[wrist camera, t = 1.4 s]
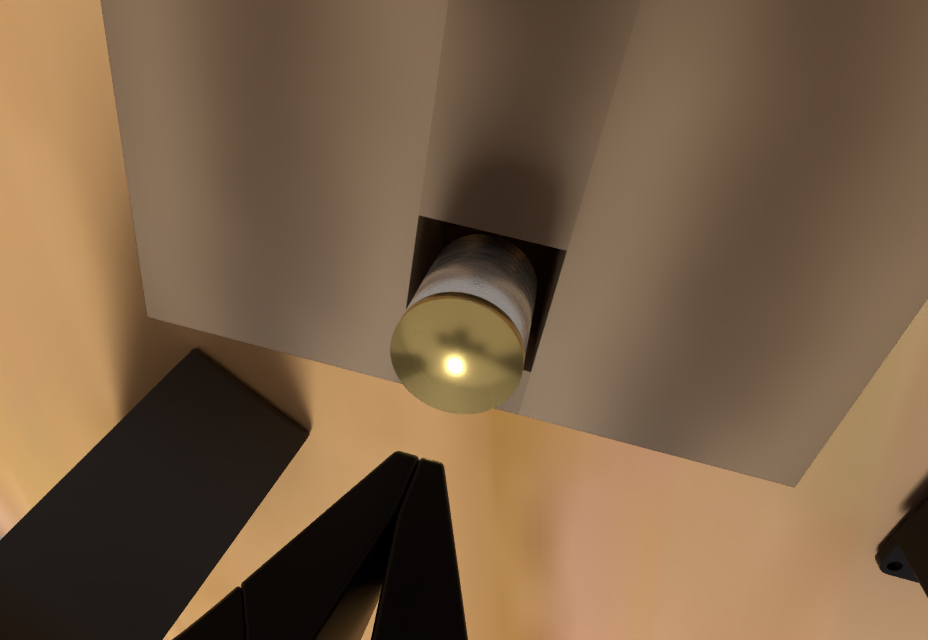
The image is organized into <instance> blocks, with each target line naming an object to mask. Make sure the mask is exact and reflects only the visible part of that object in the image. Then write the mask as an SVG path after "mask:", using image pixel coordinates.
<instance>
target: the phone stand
mask: <svg viewBox="0 0 928 640" xmlns="http://www.w3.org/2000/svg"><path fill="white" fill-rule="evenodd" d="M308 436H309V433H307V432H306V431H305V430H303V429H302V428H301V427H299V426H298V425H297V424H295V423H294V422H293V421H291V420H290V419H289V418H287V417H286V416H285V415H283V414H282V413H281V412H279V411H278V410H277V409H275V408H274V407H273V406H271V405H270V404H269V403H267V402H266V401H264V400H263V399H262V398H260V397H259V396H258V395H256V394H255V393H254V392H252V391H251V390H250V389H248V388H247V387H246V386H244V385H243V384H242V383H240V382H239V381H238V380H236V379H235V378H234V377H232V376H231V375H230V374H228V373H227V372H226V371H224V370H223V369H222V368H220V367H219V366H218V365H216V364H215V363H214V362H212V361H211V360H210V359H208V358H207V357H206V356H204V355H203V354H202V353H200V352H199V351H198V350H196V349H195V348H194V349H193V350H192V351H191V352H190V353H189V354H188V355H186V356H185V357H184V358H183V359H182V360H181V361H180V362H179V363H178V364H177V365H176V366H175V367H174V368H173V369H172V370H171V371H170V372H169V373H168V374H167V375H166V376H165V377H164V378H163V379H162V380H161V381H160V382H159V383H158V384H157V385H156V386H155V387H154V388H153V389H152V390H151V391H150V392H149V393H148V394H147V395H146V396H145V397H144V398H143V399H142V400H141V401H140V402H139V403H138V404H137V405H136V406H135V407H134V408H133V409H132V410H131V411H130V412H129V413H128V414H127V415H126V416H125V417H124V418H123V419H122V420H121V421H120V422H119V423H118V424H117V425H116V426H115V427H114V428H113V429H112V430H111V431H110V432H109V433H108V434H107V435H106V436H105V437H104V438H103V439H102V440H101V441H100V442H99V443H98V444H97V445H96V446H95V447H94V448H93V449H92V450H91V451H90V452H89V453H88V454H87V455H86V456H85V457H84V458H83V459H82V460H81V461H80V462H79V463H78V464H77V465H76V466H75V467H74V468H73V469H72V470H71V471H70V472H69V473H67V474H66V475H65V476H64V477H63V478H62V479H61V480H60V481H59V482H58V483H57V484H56V485H55V486H54V487H53V488H52V489H51V490H50V491H49V492H48V493H47V494H46V495H45V496H44V497H43V498H42V499H41V500H40V501H39V502H38V503H37V504H36V505H35V506H34V507H33V508H32V509H31V510H30V511H29V512H28V513H27V514H26V515H25V516H24V517H23V518H22V519H21V520H20V521H19V522H18V523H17V524H16V525H15V526H14V527H13V528H12V529H11V530H10V531H9V532H8V533H7V534H6V535H5V536H4V537H3V538H2V539H1V540H0V640H163V638H164V637H165V635H166V634H167V633H168V631H169V630H170V628H171V627H172V626H173V624H174V623H175V622H176V620H177V619H178V617H179V616H180V615H181V613H182V612H183V610H184V609H185V608H186V606H187V605H188V603H189V602H190V601H191V599H192V598H193V596H194V595H195V594H196V592H197V591H198V590H199V588H200V587H201V585H202V584H203V583H204V581H205V580H206V578H207V577H208V576H209V574H210V573H211V571H212V570H213V569H214V567H215V566H216V565H217V563H218V562H219V560H220V559H221V558H222V556H223V555H224V553H225V552H226V551H227V549H228V548H229V546H230V545H231V544H232V542H233V541H234V540H235V538H236V537H237V535H238V534H239V533H240V531H241V530H242V528H243V527H244V526H245V524H246V523H247V521H248V520H249V519H250V517H251V516H252V514H253V513H254V512H255V510H256V509H257V508H258V506H259V505H260V503H261V502H262V501H263V499H264V498H265V496H266V495H267V494H268V492H269V491H270V489H271V488H272V487H273V485H274V484H275V483H276V481H277V480H278V478H279V477H280V476H281V474H282V473H283V471H284V470H285V469H286V467H287V466H288V464H289V463H290V462H291V460H292V459H293V457H294V456H295V455H296V453H297V452H298V451H299V449H300V448H301V446H302V445H303V444H304V442H305V441H306V439H307V438H308Z"/></svg>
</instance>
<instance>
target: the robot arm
mask: <svg viewBox="0 0 928 640" xmlns="http://www.w3.org/2000/svg"><path fill="white" fill-rule="evenodd" d="M875 560H876V562H877V564H878V566H879V568H880V570H881V571H882V572H883V573H886V574H888V575H892V576H896V577H899V578H903V579H907V580H910V581H914V582H918V583H920V585H921V587H922V588H923V590H924V592H925V594H926V595H927V597H928V497H927V498H926V499H925V500H924V501H923V503H922V504H921V505H920V506H919V507H918V508H917V509H916V510H915V511H914V513H913V514H912V515H911V516H910V517H909V518H908V519H907V520H906V522H905V523H904V524H903V525H902V526H901V527H900V528H899V529H898V530H897V532H896V533H895V534H894V535H893V536H892V537H891V538H890V539H889V540H888V542H887V543H886V544H885V545H884V546H883V547H882V548H881V549H880V551H879V552H878V553H877V554H876V556H875ZM379 597H380V598H379ZM378 600H379V603H378V608H377V613H376V617H375V622H374V627H373V632H372V637H371V640H468V636H467V629H466V622H465V614H464V607H463V600H462V593H461V585H460V578H459V571H458V564H457V556H456V549H455V542H454V534H453V527H452V520H451V513H450V505H449V498H448V491H447V484H446V476H445V469H444V465H443V464H442V463H441V462H437V461H434V460H430V459H426V458H421V459H420V460H419V458H418V457H417V456H415V455H412V454H408V453H404V452H401V451H397V452H394V453H393V454H392V455H390V456H389V457H388V458H387V459H386V460H385V461H383V462H382V463H381V464H380V465H379V466H378V467H376V468H375V469H374V470H373V471H372V472H371V473H369V474H368V475H367V476H366V477H365V478H364V479H362V480H361V481H360V482H359V483H358V484H357V485H355V486H354V487H353V488H352V489H351V490H350V491H348V492H347V493H346V494H345V495H344V496H343V497H341V498H340V499H339V500H338V501H337V502H336V503H334V504H333V505H332V506H331V507H330V508H329V509H327V510H326V511H325V512H324V513H323V514H322V515H320V516H319V517H318V518H317V519H316V520H315V521H313V522H312V523H311V524H310V525H309V526H308V527H306V528H305V529H304V530H303V531H302V532H301V533H299V534H298V535H297V536H296V537H295V538H294V539H292V540H291V541H290V542H289V543H288V544H287V545H285V546H284V547H283V548H282V549H281V550H280V551H278V552H277V553H276V554H275V555H274V556H273V557H271V558H270V559H269V560H268V561H267V562H266V563H264V564H263V565H262V566H261V567H260V568H259V569H257V570H256V571H255V572H254V573H253V574H252V575H250V576H249V577H248V578H247V579H246V580H245V581H243V582H242V584H241V587H236V588H235V589H234V590H233V591H231V592H230V593H229V594H228V595H227V596H226V597H224V598H223V599H222V600H221V601H220V602H219V603H217V604H216V605H215V606H214V607H213V608H211V609H210V610H209V611H208V612H206V613H205V614H204V615H203V616H202V617H200V618H199V619H198V620H197V621H195V622H194V623H193V624H192V625H190V626H189V627H188V628H187V629H186V630H184V631H183V632H182V633H180V634H179V635H178V636H176V637H175V638H174V639H172V640H361V638H362V636H363V634H364V631H365V629H366V627H367V625H368V622H369V620H370V618H371V616H372V613H373V611H374V609H375V607H376V604H377V602H378Z"/></svg>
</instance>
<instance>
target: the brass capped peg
mask: <svg viewBox="0 0 928 640" xmlns="http://www.w3.org/2000/svg"><path fill="white" fill-rule="evenodd" d="M536 293H537V279H536V275H535V271H534V269H533V266H532V265H531V263H530V261H529V259H528V258H527V257H526V256H525V254H524V253H523V252H522V251H521V250H520V249H519V248H517V247H516V246H515V245H513V244H512V243H510V242H508V241H507V240H504V239H502V238H499V237H496V236H492V235H487V234H474V235H468V236H464V237H461V238H458V239H456V240H454V241H452V242H451V243H449V244H448V245H447V246H446V247H444V248H443V249H442V250H441V252H440V253H439V254H438V256H437V257H436V259H435V261H434V263H433V264H432V266H431V268H430V269H429V271H428V273H427V275H426V276H425V278H424V280H423V282H422V283H421V285H420V287H419V288H418V290H417V292H416V294H415V295H414V297H413V299H412V300H411V302H410V304H409V306H408V307H407V309H406V311H405V312H404V314H403V316H402V318H401V319H400V321H399V323H398V324H397V326H396V328H395V330H394V332H393V335H392V338H391V343H390V356H391V361H392V365H393V368H394V370H395V373H396V375H397V376H398V378H399V380H400V381H401V382H402V384H403V385H404V386H405V387H406V389H407V390H408V391H409V392H410V393H412V394H413V395H414V396H415V397H416V398H418V399H419V400H421V401H422V402H424V403H426V404H427V405H429V406H431V407H434V408H436V409H439V410H442V411H445V412H450V413H456V414H475V413H481V412H485V411H488V410H491V409H493V408H495V407H497V406H499V405H501V404H502V403H503V402H505V401H506V400H507V399H508V398H509V397H510V396H511V395H512V394H513V393H514V392H515V390H516V388H517V387H518V385H519V383H520V380H521V377H522V372H523V366H524V361H525V355H526V350H527V344H528V338H529V333H530V327H531V322H532V316H533V310H534V305H535V299H536Z"/></svg>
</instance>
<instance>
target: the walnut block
mask: <svg viewBox="0 0 928 640" xmlns="http://www.w3.org/2000/svg"><path fill="white" fill-rule="evenodd" d="M101 7H102V13H103V20H104V27H105V34H106V40H107V47H108V54H109V61H110V68H111V74H112V81H113V88H114V95H115V101H116V108H117V115H118V122H119V128H120V135H121V142H122V149H123V155H124V162H125V169H126V176H127V183H128V189H129V196H130V203H131V210H132V216H133V223H134V230H135V237H136V243H137V250H138V257H139V264H140V270H141V277H142V284H143V291H144V298H145V304H146V311H147V317H150V318H154V319H158V320H161V321H165V322H169V323H173V324H177V325H180V326H184V327H188V328H192V329H196V330H199V331H203V332H207V333H211V334H215V335H218V336H222V337H226V338H230V339H233V340H237V341H241V342H245V343H249V344H252V345H256V346H260V347H264V348H268V349H271V350H275V351H279V352H283V353H287V354H290V355H294V356H298V357H302V358H306V359H309V360H313V361H317V362H321V363H325V364H328V365H332V366H336V367H340V368H343V369H347V370H351V371H355V372H359V373H362V374H366V375H370V376H374V377H378V378H381V379H385V380H389V381H393V382H397V383H400V384H402V382H401V381H400V380H399V378H398V376H397V375H396V373H395V370H394V368H393V365H392V361H391V356H390V343H391V338H392V335H393V332H394V330H395V328H396V326H397V324H398V323H399V321H400V319H401V318H402V316H403V314H404V312H405V311H406V309H407V307H408V306H409V304H410V302H411V300H412V299H413V297H414V295H415V294H416V292H417V290H418V288H419V287H420V285H421V283H422V282H423V280H424V278H425V276H426V275H427V273H428V271H429V269H430V268H431V266H432V264H433V263H434V261H435V259H436V257H437V256H438V254H439V248H440V242H441V236H442V230H443V224H444V221H445V222H449V223H453V224H458V225H462V226H466V227H470V228H474V229H478V230H483V231H487V232H491V233H495V234H499V235H503V236H508V237H512V238H516V239H520V240H524V241H528V242H533V243H537V244H541V245H545V246H549V247H554V248H558V249H557V253H556V256H555V260H554V263H553V267H552V270H551V274H550V277H549V281H548V284H547V288H546V291H545V295H544V298H543V302H542V305H538V304H535V305H534V310H533V316H532V322H531V327H530V333H529V338H528V344H527V350H526V355H525V361H524V366H523V372H522V377H521V380H520V383H519V385H518V387H517V388H516V390H515V392H514V393H513V394H512V395H511V396H510V397H509V398H508V399H507V400H506V401H505V402H503V403H502V404H501V405H499V406H497V407H495V409H499V410H503V411H507V412H510V413H514V414H518V415H522V416H526V417H529V418H533V419H537V420H541V421H544V422H548V423H552V424H556V425H560V426H563V427H567V428H571V429H575V430H579V431H582V432H586V433H590V434H594V435H598V436H601V437H605V438H609V439H613V440H617V441H620V442H624V443H628V444H632V445H636V446H639V447H643V448H647V449H651V450H654V451H658V452H662V453H666V454H670V455H673V456H677V457H681V458H685V459H689V460H692V461H696V462H700V463H704V464H708V465H711V466H715V467H719V468H723V469H727V470H730V471H734V472H738V473H742V474H746V475H749V476H753V477H757V478H761V479H764V480H768V481H772V482H776V483H780V484H783V485H787V486H791V487H795V486H796V485H797V484H798V482H799V481H800V479H801V478H802V476H803V475H804V474H805V472H806V471H807V469H808V468H809V467H810V465H811V464H812V462H813V461H814V459H815V458H816V457H817V455H818V454H819V452H820V451H821V449H822V448H823V447H824V445H825V444H826V442H827V441H828V440H829V438H830V437H831V435H832V434H833V432H834V431H835V430H836V428H837V427H838V425H839V424H840V422H841V421H842V420H843V418H844V417H845V415H846V414H847V413H848V411H849V410H850V408H851V407H852V405H853V404H854V403H855V401H856V400H857V398H858V397H859V395H860V394H861V393H862V391H863V390H864V388H865V387H866V386H867V384H868V383H869V381H870V380H871V378H872V377H873V376H874V374H875V373H876V371H877V370H878V368H879V367H880V366H881V364H882V363H883V361H884V360H885V359H886V357H887V356H888V354H889V353H890V351H891V350H892V349H893V347H894V346H895V344H896V343H897V341H898V340H899V339H900V337H901V336H902V334H903V333H904V332H905V330H906V329H907V327H908V326H909V324H910V323H911V322H912V320H913V319H914V317H915V316H916V314H917V313H918V312H919V310H920V309H921V307H922V306H923V305H924V303H925V302H926V300H927V299H928V0H101Z"/></svg>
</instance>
